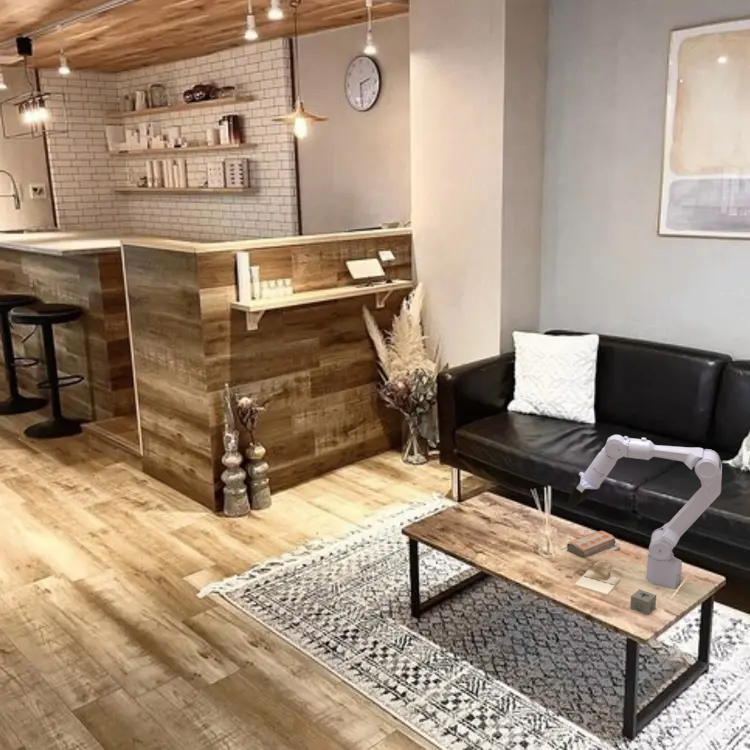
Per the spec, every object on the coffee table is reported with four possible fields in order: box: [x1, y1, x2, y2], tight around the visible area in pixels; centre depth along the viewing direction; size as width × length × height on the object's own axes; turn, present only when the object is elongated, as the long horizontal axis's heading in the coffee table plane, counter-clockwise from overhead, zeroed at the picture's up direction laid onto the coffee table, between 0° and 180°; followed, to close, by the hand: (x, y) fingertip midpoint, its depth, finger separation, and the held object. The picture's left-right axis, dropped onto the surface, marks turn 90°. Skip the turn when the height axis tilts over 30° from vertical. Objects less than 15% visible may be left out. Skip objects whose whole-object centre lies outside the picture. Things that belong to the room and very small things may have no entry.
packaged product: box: [559, 530, 621, 558], centre depth 252 cm, size 18×5×10 cm
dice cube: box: [629, 588, 657, 616], centre depth 216 cm, size 5×5×5 cm
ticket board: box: [574, 575, 616, 596], centre depth 231 cm, size 18×16×2 cm
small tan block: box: [582, 560, 621, 587], centre depth 232 cm, size 10×4×5 cm, turn 53°
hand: (574, 503), depth 237 cm, fingers open, 7 cm apart
